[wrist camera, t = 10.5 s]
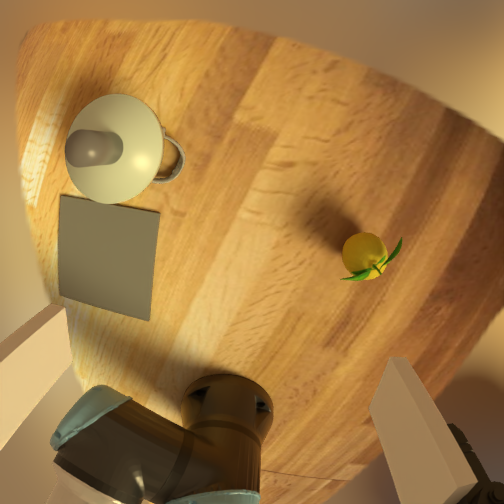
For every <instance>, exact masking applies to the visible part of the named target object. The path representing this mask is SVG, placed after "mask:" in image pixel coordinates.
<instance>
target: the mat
mask: <svg viewBox="0 0 504 504" xmlns="http://www.w3.org/2000/svg"><path fill="white" fill-rule="evenodd" d="M159 220H160V213H157V212H152V211H146V210H141V209H136V208H130V207H125V206H120V205H114V204H103V203H99V202H96V201H92V200H86V199H81V198H75V197H70V196H64V195H62V196H61V200H60V218H59V288H60V295H61V296H64V297H67V298H70V299H73V300H76V301H79V302H83V303H86V304H89V305H92V306H96V307H99V308H102V309H106V310H109V311H113V312H116V313H120V314H123V315H127V316H130V317H134V318H138V319H141V320H145V321H149V320H150V310H151V297H152V285H153V274H154V263H155V254H156V245H157V236H158V228H159Z"/></svg>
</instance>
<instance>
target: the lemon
mask: <svg viewBox="0 0 504 504" xmlns="http://www.w3.org/2000/svg"><path fill="white" fill-rule="evenodd" d="M401 246H402V237H401V239H400V241H399V243H398V245H397V247H396V248H395V250H394V251H393V253H392V254H391V255H390V257H389V258H388V253H387V250H386V247H385V244H384V243H383V242H382V241H381V240H380V238H379V237H377V236H375V235H374V234H372V233H366V232H363V233H358V234H355V235H353V236H351V237H350V238H349V239H347V240H346V242H345V244H344V246H343V251H342V260H343V263H344V265H345V267H346V269H347V270H348V271H349V272H350V273H351V274H352V275H353V276H352V277H348V278H343V279H341V280H353V281H359V280H363V279H364V280H369V279H373V278H375V277H377V276H379V275H381V274H382V272H383V271H384V269H385V268H386V266H387V264H388V263H389V262H390V261H391V260H392V259H393V258H394V257H395V256H396V255H397V254H398V253H399V251H400V249H401Z"/></svg>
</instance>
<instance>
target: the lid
mask: <svg viewBox="0 0 504 504" xmlns="http://www.w3.org/2000/svg"><path fill="white" fill-rule="evenodd" d="M163 154H164V136H163V130H162V127H161V124H160V122H159V119H158V118H157V116H156V114H155V113H154V111H153V110H152V109H151V108H150V107H149V106H148V105H147V104H146V103H144V102H143V101H141V100H139V99H137V98H135V97H132V96H129V95H125V94H110V95H105V96H102V97H99V98H97V99H95V100H94V101H92V102H91V103H89V104H88V105H87V106H86V107H84V108H83V109H82V110H81V112H80V113H79V114H78V115H77V117H76V118H75V120H74V121H73V123H72V125H71V127H70V130H69V132H68V136H67V140H66V145H65V160H66V166H67V170H68V173H69V175H70V178H71V180H72V182H73V183H74V185H75V186H76V187H77V189H78V190H79V191H80V192H81V193H82V194H83V195H85V196H86V197H88V198H89V199H91V200H93V201H96V202H99V203H103V204H116V203H120V202H124V201H127V200H129V199H132V198H134V197H135V196H137V195H139V194H140V193H141V192H143V191H144V190H145V189H146V188H147V187H148V186H149V185H150V183H151V182H152V181H153V179H154V178H155V176H156V175H157V173H158V170H159V168H160V165H161V163H162V159H163Z"/></svg>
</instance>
